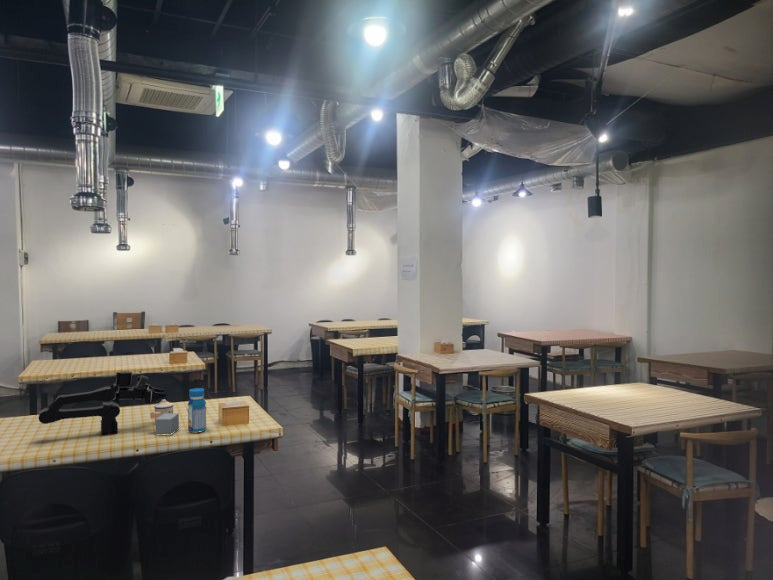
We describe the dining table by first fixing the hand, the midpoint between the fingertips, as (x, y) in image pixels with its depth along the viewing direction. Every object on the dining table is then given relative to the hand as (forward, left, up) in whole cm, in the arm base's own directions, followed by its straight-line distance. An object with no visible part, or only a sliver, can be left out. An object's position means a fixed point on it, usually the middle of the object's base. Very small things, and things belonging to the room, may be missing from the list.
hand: (165, 392), depth 257 cm
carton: (-2, -13, -16) cm, 21 cm away
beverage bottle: (+11, -19, -16) cm, 27 cm away
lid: (-3, -12, -9) cm, 15 cm away
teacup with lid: (+1, +7, -16) cm, 18 cm away
